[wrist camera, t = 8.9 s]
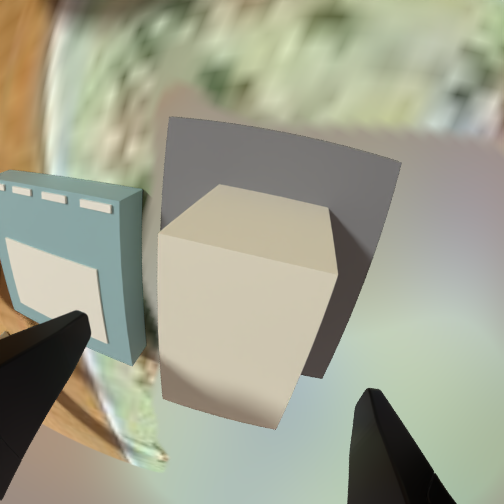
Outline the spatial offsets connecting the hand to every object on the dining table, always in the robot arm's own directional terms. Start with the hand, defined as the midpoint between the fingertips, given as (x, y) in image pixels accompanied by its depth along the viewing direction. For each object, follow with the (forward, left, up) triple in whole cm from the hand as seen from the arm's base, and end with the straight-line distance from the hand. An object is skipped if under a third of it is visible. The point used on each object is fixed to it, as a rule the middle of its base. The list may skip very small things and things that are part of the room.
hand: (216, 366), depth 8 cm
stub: (0, 0, -6) cm, 6 cm away
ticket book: (+11, +2, -6) cm, 13 cm away
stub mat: (0, 0, -6) cm, 6 cm away
